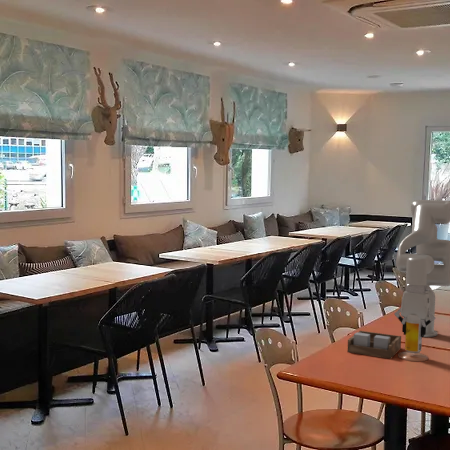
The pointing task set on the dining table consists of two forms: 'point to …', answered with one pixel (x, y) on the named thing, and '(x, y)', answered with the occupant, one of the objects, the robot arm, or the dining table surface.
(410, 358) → the coaster
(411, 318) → the beer can
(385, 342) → the offcut
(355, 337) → the offcut
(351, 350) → the rack
